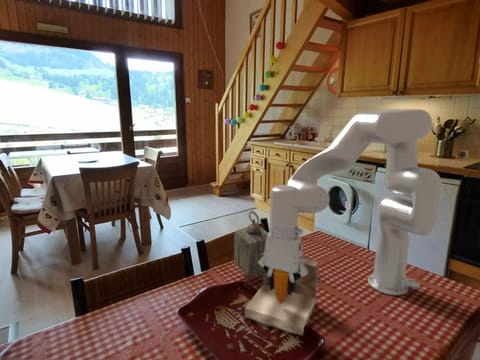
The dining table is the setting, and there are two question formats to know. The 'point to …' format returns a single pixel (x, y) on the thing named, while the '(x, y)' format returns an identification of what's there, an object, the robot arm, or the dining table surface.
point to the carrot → (281, 284)
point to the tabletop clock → (250, 248)
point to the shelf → (286, 302)
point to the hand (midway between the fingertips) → (281, 289)
